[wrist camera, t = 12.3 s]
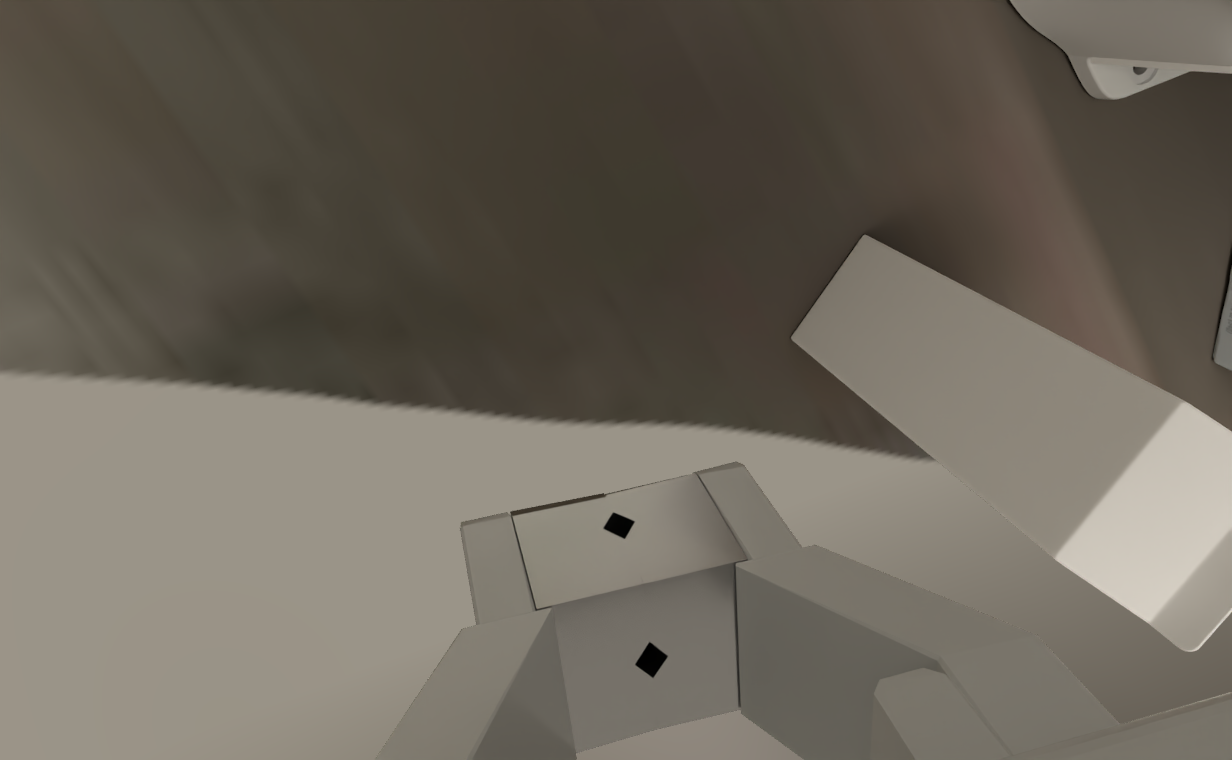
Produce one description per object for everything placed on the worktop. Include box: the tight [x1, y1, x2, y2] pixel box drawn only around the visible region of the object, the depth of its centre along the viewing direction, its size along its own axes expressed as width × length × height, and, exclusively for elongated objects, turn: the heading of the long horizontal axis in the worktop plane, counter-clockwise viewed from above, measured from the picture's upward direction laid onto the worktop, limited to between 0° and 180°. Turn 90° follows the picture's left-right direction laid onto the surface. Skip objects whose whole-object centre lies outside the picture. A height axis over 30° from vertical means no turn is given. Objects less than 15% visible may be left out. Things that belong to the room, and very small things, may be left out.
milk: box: [791, 235, 1232, 652], centre depth 36 cm, size 6×6×22 cm
